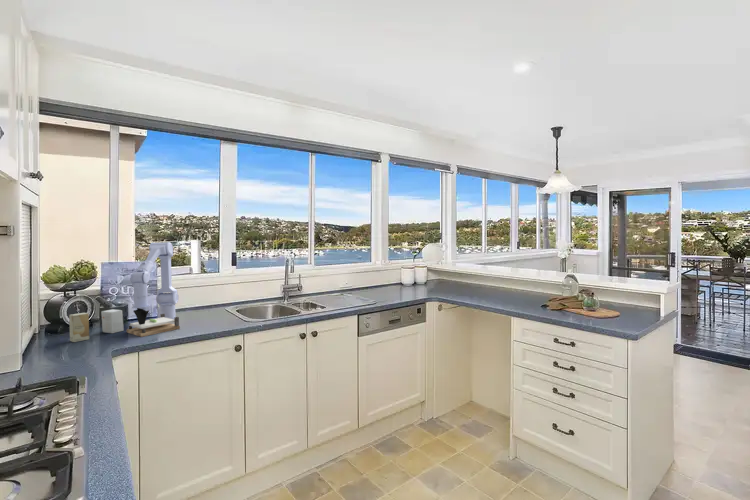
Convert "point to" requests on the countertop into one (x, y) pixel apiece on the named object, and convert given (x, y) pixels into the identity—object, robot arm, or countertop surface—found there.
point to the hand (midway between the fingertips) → (141, 324)
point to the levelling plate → (153, 322)
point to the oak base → (154, 328)
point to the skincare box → (79, 327)
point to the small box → (112, 321)
